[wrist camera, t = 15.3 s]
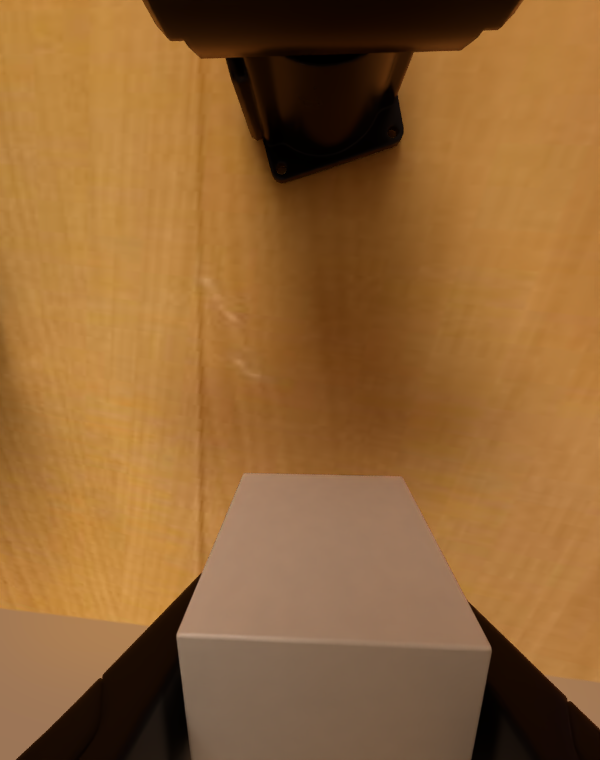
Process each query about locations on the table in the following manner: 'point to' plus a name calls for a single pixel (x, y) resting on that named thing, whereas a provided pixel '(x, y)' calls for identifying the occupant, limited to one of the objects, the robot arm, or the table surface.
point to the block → (329, 629)
